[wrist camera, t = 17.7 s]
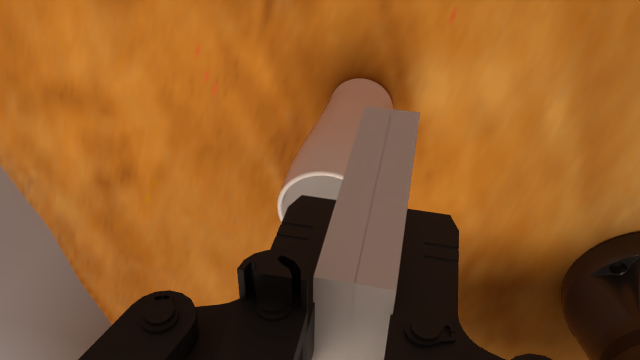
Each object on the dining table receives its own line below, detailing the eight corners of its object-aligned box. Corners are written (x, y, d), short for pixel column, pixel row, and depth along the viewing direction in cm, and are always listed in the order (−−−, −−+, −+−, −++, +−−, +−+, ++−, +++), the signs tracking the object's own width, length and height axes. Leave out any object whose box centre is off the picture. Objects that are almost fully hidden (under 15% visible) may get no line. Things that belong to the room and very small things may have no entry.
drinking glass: (309, 114, 49) (259, 223, 37) (346, 51, 45) (303, 152, 33) (376, 151, 50) (347, 270, 38) (418, 94, 46) (402, 206, 34)
